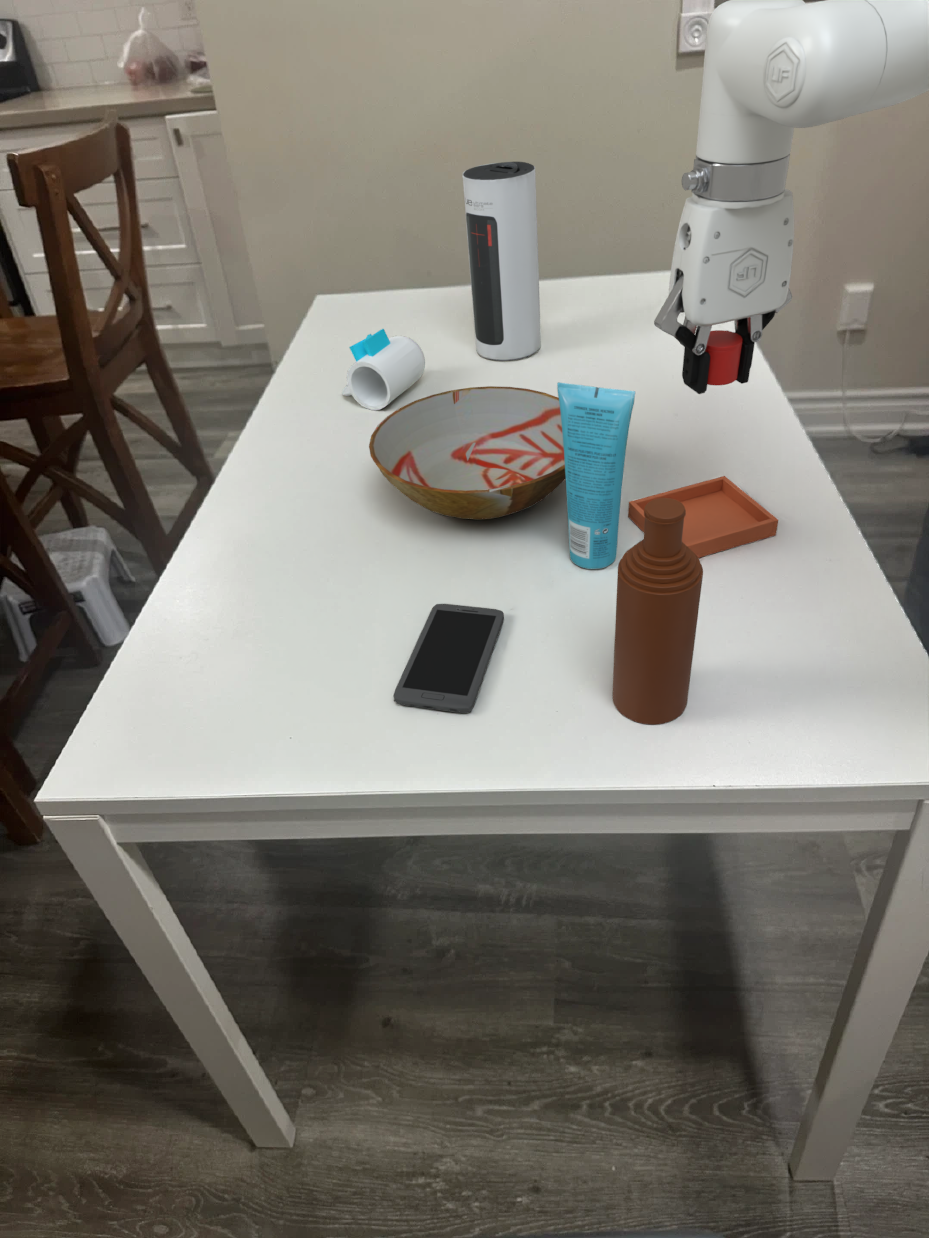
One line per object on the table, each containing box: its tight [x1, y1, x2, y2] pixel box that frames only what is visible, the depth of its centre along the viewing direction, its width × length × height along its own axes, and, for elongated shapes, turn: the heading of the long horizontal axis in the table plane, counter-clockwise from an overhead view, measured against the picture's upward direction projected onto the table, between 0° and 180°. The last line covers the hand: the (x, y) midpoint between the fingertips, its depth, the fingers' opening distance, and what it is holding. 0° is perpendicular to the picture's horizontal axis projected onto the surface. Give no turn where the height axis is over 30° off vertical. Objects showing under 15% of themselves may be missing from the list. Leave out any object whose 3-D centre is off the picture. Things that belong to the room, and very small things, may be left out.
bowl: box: [368, 385, 566, 521], centre depth 101 cm, size 25×25×8 cm
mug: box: [341, 328, 426, 411], centre depth 126 cm, size 12×9×12 cm
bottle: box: [611, 498, 704, 726], centre depth 69 cm, size 6×6×20 cm
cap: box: [705, 329, 743, 386], centre depth 83 cm, size 4×4×4 cm
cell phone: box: [393, 603, 505, 714], centre depth 81 cm, size 7×14×1 cm, turn 165°
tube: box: [556, 381, 636, 570], centre depth 86 cm, size 7×5×19 cm, turn 71°
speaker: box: [462, 161, 542, 362], centre depth 128 cm, size 11×10×26 cm
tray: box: [627, 475, 779, 559], centre depth 94 cm, size 12×10×2 cm
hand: (715, 381), depth 84 cm, fingers closed on cap, 3 cm apart
